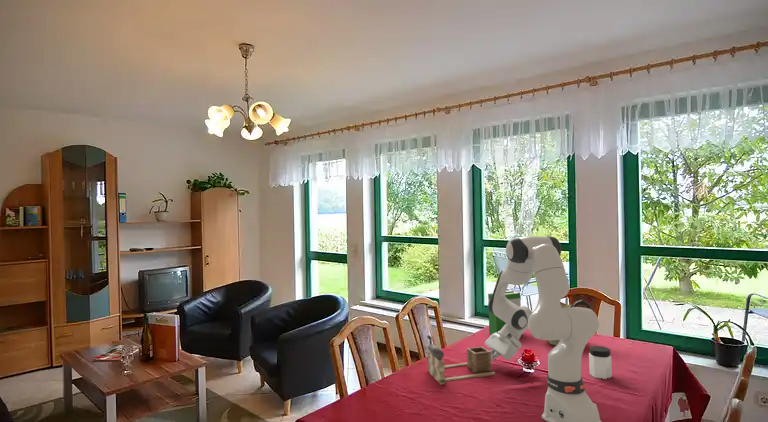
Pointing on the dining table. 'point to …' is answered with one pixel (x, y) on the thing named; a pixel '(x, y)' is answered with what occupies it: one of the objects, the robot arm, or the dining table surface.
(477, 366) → the crate
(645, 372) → the dining table surface
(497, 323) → the green cereal box
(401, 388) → the dining table surface
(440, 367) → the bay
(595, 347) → the jar
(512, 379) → the dining table surface
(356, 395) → the dining table surface
